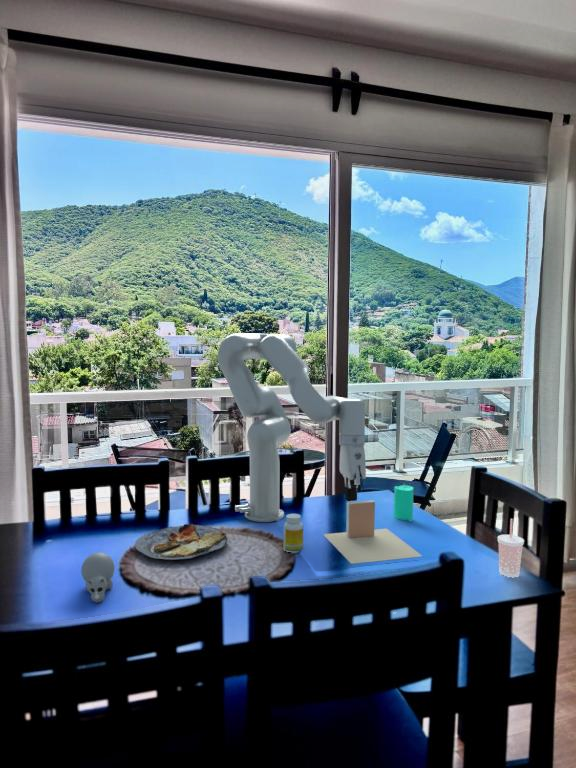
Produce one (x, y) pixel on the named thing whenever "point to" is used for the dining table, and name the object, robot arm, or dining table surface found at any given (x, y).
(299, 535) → the supplement bottle
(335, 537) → the cork mat
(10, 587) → the dining table surface
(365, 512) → the tile
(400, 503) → the candle
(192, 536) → the food plate
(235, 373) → the robot arm
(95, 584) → the round bodied animal figurine
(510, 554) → the beverage cup
